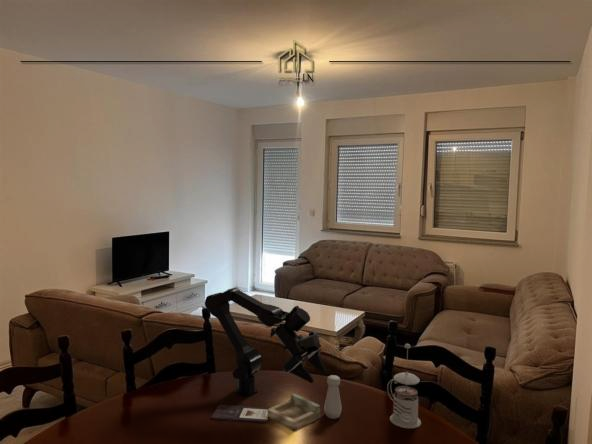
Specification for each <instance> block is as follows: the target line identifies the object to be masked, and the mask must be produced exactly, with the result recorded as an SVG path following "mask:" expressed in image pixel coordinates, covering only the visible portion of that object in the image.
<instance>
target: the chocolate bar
mask: <svg viewBox="0 0 592 444" xmlns="http://www.w3.org/2000/svg"><path fill="white" fill-rule="evenodd" d="M269 408H270V407H261V406H246V405H232V404H220V403H219V404H218V405H217V406H216V408H215V410H214V412H213V414H212V415H211V417H210V420H214V421H215V420H216V421H230V422H242V421H244V422H243V423H246V422H247V423H256V422H259V423H258V424H267V423H268V421H269V418H268V417H269V416H268V409H269ZM267 420H268V421H267Z"/></svg>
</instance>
